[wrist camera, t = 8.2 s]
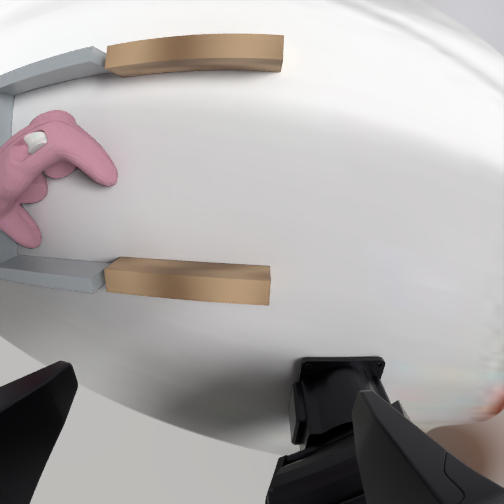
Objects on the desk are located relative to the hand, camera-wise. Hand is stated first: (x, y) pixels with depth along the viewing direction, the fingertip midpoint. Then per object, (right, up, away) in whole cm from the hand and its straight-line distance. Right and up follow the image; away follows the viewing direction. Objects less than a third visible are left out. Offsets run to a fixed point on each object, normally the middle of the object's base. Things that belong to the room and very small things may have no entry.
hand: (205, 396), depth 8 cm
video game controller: (-12, +9, +11) cm, 19 cm away
